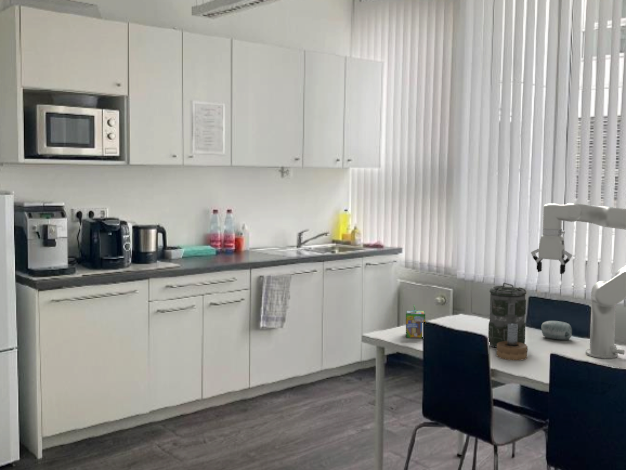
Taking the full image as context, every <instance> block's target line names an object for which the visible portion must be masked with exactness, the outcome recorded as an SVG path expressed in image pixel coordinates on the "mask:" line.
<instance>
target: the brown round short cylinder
mask: <svg viewBox="0 0 626 470" xmlns="http://www.w3.org/2000/svg"><path fill="white" fill-rule="evenodd" d="M496 357H497V358H499V359H502V360H506V361H507V360H508V361H523V360H526V359H527V358H528V345H527V343H525V344H524V343H520V342H517V346H515V347H514V346H507V341H504V342H499V343H497V347H496Z"/></svg>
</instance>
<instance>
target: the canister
mask: <svg viewBox="0 0 626 470" xmlns="http://www.w3.org/2000/svg"><path fill="white" fill-rule="evenodd" d="M489 293H490V296H489V321H488V337H487V339H488V338H489V342H490V345H489V346H490V347H493V348H494V349H495V348H497V343H499V342H504V341H507V335H508V323H517V324H518V334H517V342H520V343H524V344H526V327H527V325H526V324H527V323H526V321H525V318H526V314H527V313H526V311H527V299H526V295H527V290H526V289H525V288H523V287H514V285H513V284H511V283H508V282H503V283H502V285H497V286H493V287H491V288H489Z"/></svg>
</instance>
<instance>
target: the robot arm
mask: <svg viewBox="0 0 626 470" xmlns="http://www.w3.org/2000/svg"><path fill="white" fill-rule="evenodd" d="M542 211H543V212H542V215H543V217H542V235H541V236H540V239H539V244H538V248H537V249H535V250H532V251H531V252H530V254H531V256H532V258H533V260H534V261H535V263H536V270H537V273H540V272H542V270H543V269H542V268H543V263H542V260H543V259H544V260H555V261H559V263H560V265H559V274H560V275H563V274H564V273H565V272H566V264H567V263H569V262H570V260H571V259H572V257H573V254H572V253H570V252H568V251H567V250H566V247H565V239H564V236H562V235H565V233H566V231H565V230H563V229H562V223H563V221H564V222H570V223H572V222H574V223H575V222H582V223H589V224H593V225H597V226H600V227H603V228H610V229H618V230H626V208H619V207H612V206H604V205H603V206H602V205H601V206H599V205H591V204H581V203H574V202H568V203H566V204H559V203H546V204H544V206H543V210H542ZM537 253H538V256H537V255H536V254H537ZM565 256H567V257H565ZM590 291H591V292H590V301H591V302H590V305H591V306H590V332H589V348H588V349H586V350H585V354H586V355H587V356H590V357H593V358H598V359H615V358H618V357H619V355H618V354H620V355H625V353H626V352H625V349H623V348H618V347H617V344H615V335H616V330H615V329H616V312H617V311H616V305H617V304H620V302H623V301H624V300H625V299H626V265H624V266H622V267H621V268H619V269H618V270H617V271H616V272H615V274H614V277H613V278H611V279H610V280H599V281H597V282H595V283H594V284H593V286H592V287H591V290H590Z"/></svg>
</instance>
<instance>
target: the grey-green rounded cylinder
mask: <svg viewBox="0 0 626 470" xmlns="http://www.w3.org/2000/svg"><path fill="white" fill-rule="evenodd" d="M540 327H541V334H542V336H543V337H545V338H546V339H552V340H560V341H561V340H563V341H565V340H566V341H567V340H570V339H571V338H572V334H573V328H572V326H571V325H570V323H567V322H564V321H561V320H560V321H558V320H546V321H544V322H542V324H541V326H540Z"/></svg>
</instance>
